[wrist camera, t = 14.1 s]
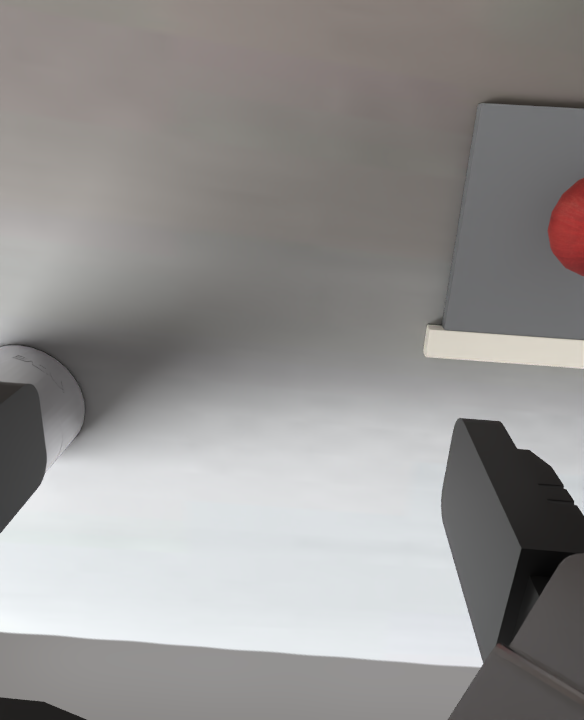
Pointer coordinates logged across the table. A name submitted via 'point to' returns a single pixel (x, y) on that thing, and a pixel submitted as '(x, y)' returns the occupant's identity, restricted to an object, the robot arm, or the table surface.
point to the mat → (514, 244)
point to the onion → (569, 228)
